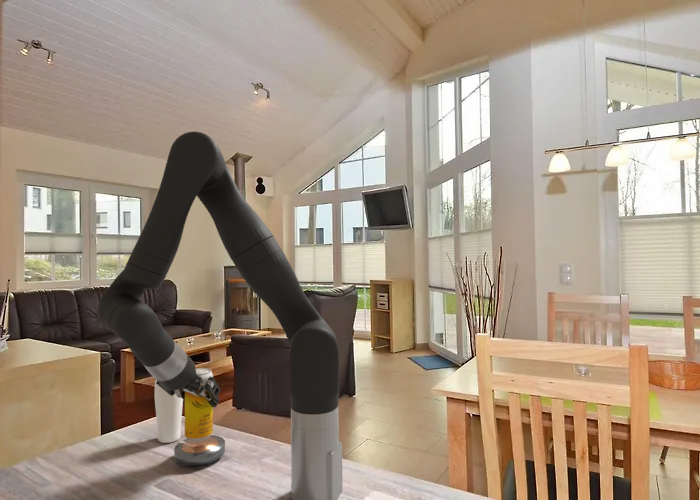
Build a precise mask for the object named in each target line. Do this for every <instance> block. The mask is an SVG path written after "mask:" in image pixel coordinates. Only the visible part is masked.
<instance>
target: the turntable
mask: <svg viewBox="0 0 700 500" xmlns="http://www.w3.org/2000/svg"><path fill="white" fill-rule="evenodd" d="M173 451H174V453H173V455H174V456H173V457H174V461H175V463H178V464H179V465H182V466H186V465H190V466H192V465H202V464H206V463H210V462H212V461H214V462H215V461H216V460H219V459H221V457H223V456H224V455H225V453H226V440H225V439H224V438H223V437H222V436H219V435H214V434H211V435H210V437H209V438H208V439H205V440H202V441H189V440H188V439H187V438H185V439H183V440H181V441H179V442H178V443H177V444H176V445H175V446H174V449H173ZM212 463H213V462H212ZM210 464H211V463H210ZM190 466H189V467H190Z"/></svg>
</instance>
